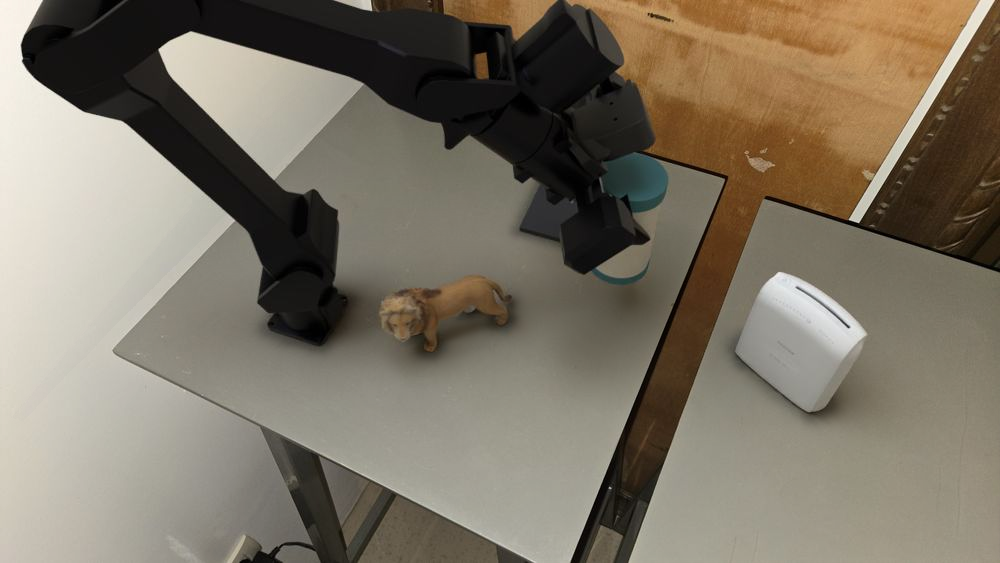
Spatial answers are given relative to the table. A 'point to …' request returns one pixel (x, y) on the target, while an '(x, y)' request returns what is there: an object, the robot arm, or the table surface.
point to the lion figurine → (439, 307)
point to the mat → (547, 216)
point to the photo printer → (800, 341)
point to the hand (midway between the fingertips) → (640, 216)
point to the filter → (634, 212)
